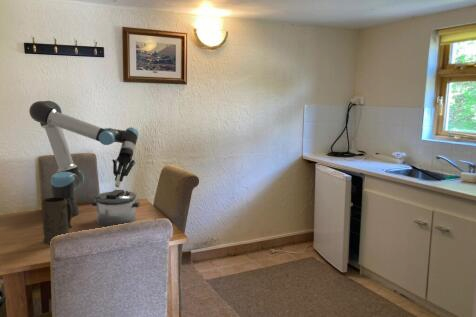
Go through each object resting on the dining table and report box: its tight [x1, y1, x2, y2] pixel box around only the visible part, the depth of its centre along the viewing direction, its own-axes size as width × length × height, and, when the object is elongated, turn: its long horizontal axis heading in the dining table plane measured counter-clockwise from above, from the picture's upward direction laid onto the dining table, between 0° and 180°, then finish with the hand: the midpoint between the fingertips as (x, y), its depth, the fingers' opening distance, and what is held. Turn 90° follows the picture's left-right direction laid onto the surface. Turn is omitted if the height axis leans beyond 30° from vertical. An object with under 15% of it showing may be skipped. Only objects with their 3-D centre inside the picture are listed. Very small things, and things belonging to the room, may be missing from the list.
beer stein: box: [41, 197, 73, 245], centre depth 181 cm, size 15×11×20 cm
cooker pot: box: [91, 199, 141, 227], centre depth 210 cm, size 25×21×12 cm
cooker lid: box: [94, 189, 137, 204], centre depth 208 cm, size 21×21×4 cm
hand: (116, 186), depth 209 cm, fingers closed
